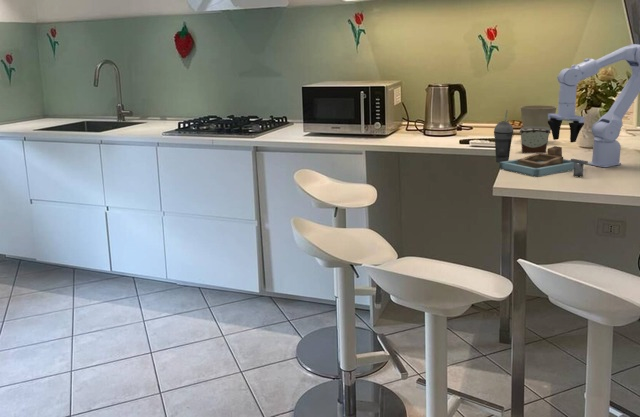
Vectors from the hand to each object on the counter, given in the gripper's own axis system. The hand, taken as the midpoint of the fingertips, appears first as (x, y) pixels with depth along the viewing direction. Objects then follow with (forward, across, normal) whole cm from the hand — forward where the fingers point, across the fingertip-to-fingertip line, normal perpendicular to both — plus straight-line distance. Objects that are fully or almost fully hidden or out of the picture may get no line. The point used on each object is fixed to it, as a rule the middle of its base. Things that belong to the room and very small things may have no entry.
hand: (564, 140), depth 229 cm
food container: (+10, -27, +14) cm, 32 cm away
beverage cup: (+10, -19, -11) cm, 24 cm away
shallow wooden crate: (+8, -2, -7) cm, 11 cm away
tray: (+9, -2, -10) cm, 14 cm away
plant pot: (+10, -41, +32) cm, 53 cm away
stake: (+9, +14, -9) cm, 19 cm away
